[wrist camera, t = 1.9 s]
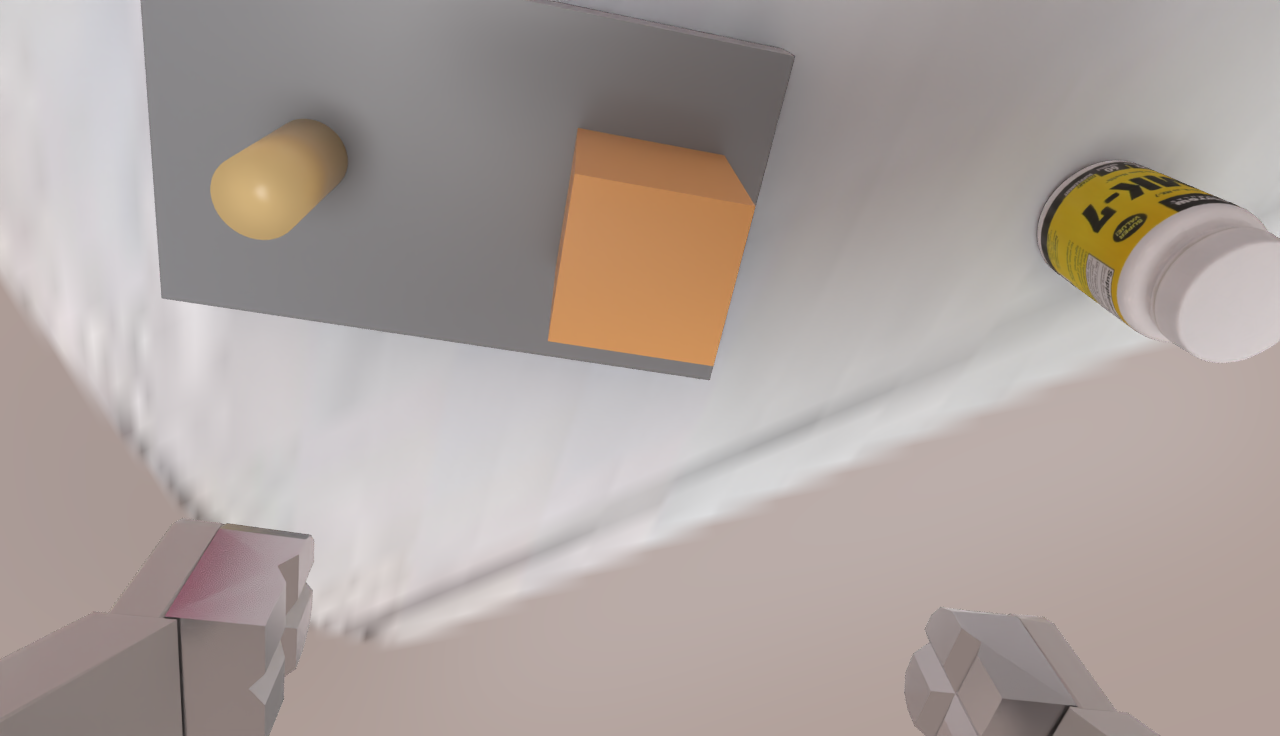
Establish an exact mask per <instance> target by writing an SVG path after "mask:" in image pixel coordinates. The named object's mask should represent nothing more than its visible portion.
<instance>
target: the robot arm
mask: <svg viewBox="0 0 1280 736" xmlns="http://www.w3.org/2000/svg"><path fill="white" fill-rule="evenodd" d="M313 563H314V539H313V537H312V536H311V535H309V534H301V533H294V532H287V531H279V530H272V529H265V528H258V527H250V526H243V525H236V524H228V523H227V524H222V523H216V522H209V521H201V520H194V519H186V518H182V519H180V520H178V521H176V522H175V523H173V524H172V525H171V526H170V527H169V529H168V530H167V531H166V533H165V534H164V536H163V537H162V538H161V540H160V541H159V543H158V544H157V545H156V547H155V548H154V550H153V551H152V552H151V554H150V555H149V557H148V558H147V559H146V561H145V562H144V563H143V565H142V566H141V568H140V569H139V570H138V572H137V573H136V575H135V576H134V577H133V579H132V580H131V582H130V583H129V584H128V586H127V587H126V589H125V590H124V591H123V593H122V594H121V596H120V597H119V598H118V600H117V601H116V602H115V604H114V605H113V607H112V608H111V609H110V611H109V612H108V613H106V612H92V613H90V614H88V615H86V616H84V617H82V618H80V619H78V620H76V621H74V622H72V623H70V624H68V625H66V626H64V627H62V628H60V629H58V630H56V631H54V632H52V633H50V634H48V635H46V636H44V637H42V638H40V639H39V640H37V641H35V642H33V643H31V644H29V645H27V646H25V647H23V648H21V649H19V650H17V651H15V652H13V653H11V654H9V655H7V656H5V657H3V658H1V659H0V736H269V735H270V732H271V730H272V727H273V725H274V722H275V720H276V717H277V715H278V712H279V710H280V707H281V705H282V702H283V700H284V677H285V676H286V675H288V674H289V673H291V672H292V671H293V670H295V669H296V667H297V664H298V662H299V659H300V656H301V654H302V651H303V648H304V643H305V640H306V636H307V632H308V628H309V624H310V617H311V610H312V596H313V590H312V589H311V588H310V586H309V585H308V584H307V583H306V579H307V577H308V575H309V572H310V570H311V568H312V565H313ZM925 631H926V634H927V636H928V639H929V643H928V644H926V645H925V646H924V647H922V648H921V649H919V650H918V651H916V652H915V653H914V654H913V656H912V658H911V661H910V663H909V666H908V668H907V670H906V675H905V692H904V693H905V698H906V704H907V708H908V711H909V714H910V716H911V719H912V721H913V723H914V726H915V727H917V728H918V729H919V730H920V731H921V732H922V733H923V734H924V735H925V736H1160V735H1159V734H1158V733H1156V732H1155V731H1153V730H1152V729H1150V728H1149V727H1148V726H1146V725H1145V724H1143V723H1142V722H1141V721H1139V720H1138V719H1136V718H1135V717H1133V716H1132V715H1130V714H1129V713H1127V712H1118V711H1117V710H1116V709H1115V708H1114V706H1113V705H1112V703H1111V702H1110V701H1109V699H1108V698H1107V696H1106V695H1105V694H1104V692H1103V691H1102V689H1101V688H1100V687H1099V685H1098V684H1097V682H1096V681H1095V680H1094V678H1093V677H1092V676H1091V674H1090V673H1089V671H1088V670H1087V669H1086V667H1085V666H1084V664H1083V663H1082V662H1081V660H1080V659H1079V657H1078V656H1077V655H1076V653H1075V652H1074V650H1073V649H1072V648H1071V646H1070V645H1069V644H1068V642H1067V641H1066V639H1065V638H1064V637H1063V635H1062V634H1061V632H1060V631H1059V630H1058V628H1057V627H1056V625H1055V624H1054V623H1052V622H1051V621H1049V620H1048V619H1046V618H1045V617H1039V616H1028V615H1017V614H1008V615H1005V614H998V613H988V612H980V611H970V610H961V609H952V608H942V607H940V608H939V609H938V610H936V611H935V612H934V613H933V614H932V615H931V617H930V619H929V621H928V623H927V625H926V627H925Z"/></svg>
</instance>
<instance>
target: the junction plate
mask: <svg viewBox="0 0 1280 736" xmlns="http://www.w3.org/2000/svg"><path fill="white" fill-rule="evenodd" d="M141 13H142V27H143V41H144V55H145V69H146V83H147V98H148V112H149V126H150V140H151V154H152V168H153V182H154V197H155V211H156V225H157V239H158V253H159V267H160V281H161V296H162V298H163V299H170V300H176V301H183V302H190V303H197V304H203V305H210V306H217V307H223V308H230V309H237V310H243V311H250V312H257V313H263V314H270V315H277V316H283V317H290V318H297V319H304V320H310V321H317V322H324V323H330V324H337V325H344V326H350V327H357V328H364V329H370V330H377V331H384V332H390V333H397V334H404V335H411V336H417V337H424V338H431V339H437V340H444V341H451V342H457V343H464V344H471V345H477V346H484V347H491V348H498V349H504V350H511V351H518V352H524V353H531V354H538V355H544V356H551V357H558V358H564V359H571V360H578V361H584V362H591V363H598V364H605V365H611V366H618V367H625V368H631V369H638V370H645V371H651V372H658V373H665V374H671V375H678V376H685V377H691V378H698V379H705V380H710V377H711V373H712V369H713V366H708V365H701V364H695V363H688V362H682V361H675V360H669V359H662V358H655V357H649V356H642V355H636V354H629V353H622V352H616V351H609V350H603V349H596V348H590V347H583V346H576V345H570V344H563V343H557V342H550V341H548V334H549V325H550V316H551V306H552V297H553V288H554V278H555V269H556V263H557V256H558V250H559V244H560V237H561V231H562V225H563V218H564V212H565V206H566V199H567V193H568V187H569V180H570V174H571V168H572V161H573V155H574V149H575V142H576V136H577V130H578V128H581V129H587V130H592V131H597V132H603V133H608V134H613V135H619V136H624V137H629V138H635V139H640V140H645V141H651V142H656V143H661V144H667V145H672V146H677V147H683V148H688V149H693V150H699V151H704V152H709V153H715V154H720V155H724V156H725V157H726V159H727V161H728V162H729V164H730V166H731V167H732V169H733V170H734V172H735V174H736V175H737V177H738V179H739V180H740V182H741V183H742V185H743V187H744V188H745V190H746V192H747V193H748V195H749V197H750V198H751V200H752V201H753V203H754V205H755V206H756V202H757V198H758V195H759V191H760V187H761V183H762V179H763V176H764V172H765V168H766V164H767V161H768V157H769V153H770V149H771V145H772V142H773V138H774V134H775V130H776V126H777V123H778V119H779V115H780V111H781V107H782V104H783V100H784V96H785V92H786V89H787V85H788V81H789V77H790V73H791V70H792V66H793V62H794V58H795V56H794V55H792V54H790V53H789V52H787V51H785V50H784V49H781V48H776V47H771V46H766V45H762V44H757V43H752V42H747V41H742V40H738V39H733V38H728V37H723V36H718V35H714V34H709V33H704V32H699V31H694V30H689V29H685V28H680V27H675V26H670V25H665V24H661V23H656V22H651V21H646V20H641V19H636V18H632V17H627V16H622V15H617V14H612V13H608V12H603V11H598V10H593V9H588V8H583V7H579V6H574V5H569V4H564V3H559V2H555V1H550V0H141Z"/></svg>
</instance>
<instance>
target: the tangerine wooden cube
mask: <svg viewBox="0 0 1280 736" xmlns="http://www.w3.org/2000/svg"><path fill="white" fill-rule="evenodd" d="M754 210H755V205H754V203H753V201H752V200H751V198H750V197H749V195H748V193H747V192H746V190H745V188H744V187H743V185H742V183H741V182H740V180H739V179H738V177H737V175H736V174H735V172H734V170H733V169H732V167H731V166H730V164H729V162H728V161H727V159H726V157H725V156H724V155H720V154H715V153H709V152H704V151H699V150H693V149H688V148H683V147H677V146H672V145H667V144H661V143H656V142H651V141H645V140H640V139H635V138H629V137H624V136H619V135H613V134H608V133H603V132H597V131H592V130H587V129H581V128H578V130H577V136H576V142H575V149H574V155H573V161H572V168H571V174H570V180H569V187H568V193H567V199H566V206H565V212H564V218H563V225H562V231H561V237H560V244H559V250H558V256H557V263H556V269H555V278H554V288H553V297H552V306H551V316H550V325H549V334H548V341H550V342H557V343H563V344H570V345H576V346H583V347H590V348H596V349H603V350H609V351H616V352H622V353H629V354H636V355H642V356H649V357H655V358H662V359H669V360H675V361H682V362H688V363H695V364H701V365H708V366H713V365H714V362H715V358H716V354H717V350H718V346H719V343H720V339H721V335H722V331H723V327H724V324H725V320H726V316H727V312H728V309H729V305H730V301H731V297H732V293H733V290H734V286H735V282H736V278H737V274H738V271H739V267H740V263H741V259H742V255H743V252H744V248H745V244H746V240H747V237H748V233H749V229H750V225H751V221H752V218H753V214H754Z"/></svg>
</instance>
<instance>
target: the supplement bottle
mask: <svg viewBox="0 0 1280 736" xmlns="http://www.w3.org/2000/svg"><path fill="white" fill-rule="evenodd" d="M1037 237H1038V245H1039V249H1040V252H1041V254H1042V256H1043V258H1044V260H1045V261H1046V263H1047V264H1048V265H1049V266H1050V267H1051V268H1052V269H1053V270H1054V271H1055V272H1057V273H1058V274H1059V275H1061V276H1062V277H1063V278H1065V279H1066V280H1067V281H1068V282H1070V283H1071V284H1072V285H1074V286H1075V287H1077V288H1078V289H1079V290H1081V291H1082V292H1084V293H1085V294H1086V295H1088V296H1089V297H1090V298H1092V299H1093V300H1094V301H1096V302H1097V303H1098V304H1100V305H1101V306H1102V307H1104V308H1105V309H1107V310H1108V311H1109V312H1111V313H1112V314H1113V315H1115V316H1116V317H1117V318H1119V319H1120V320H1121V321H1123V322H1124V323H1126V324H1127V325H1128V326H1130V327H1131V328H1132V329H1134V330H1135V331H1137V332H1138V333H1140V334H1142V335H1144V336H1146V337H1148V338H1151V339H1154V340H1158V341H1163V342H1172V343H1173V344H1175V345H1177V346H1179V347H1180V348H1182V349H1183V350H1185V351H1187V352H1188V353H1190V354H1191V355H1193V356H1195V357H1197V358H1199V359H1201V360H1204V361H1209V362H1214V363H1229V362H1235V361H1241V360H1244V359H1248V358H1250V357H1252V356H1255V355H1257V354H1260V353H1262V352H1263V351H1265V350H1267V349H1268V348H1270V347H1272V346H1273V345H1275V344H1276V343H1277V342H1279V341H1280V238H1278V237H1276V236H1274V235H1273V234H1272V233H1270V232H1268V230H1267V229H1266V227H1265V226H1264V224H1263V223H1262V222H1261V221H1260V220H1259V219H1258V218H1257V217H1256V216H1255V215H1253V214H1252V213H1250V212H1249V211H1247V210H1246V209H1244V208H1241V207H1239V206H1237V205H1235V204H1233V203H1231V202H1227V201H1225V200H1223V199H1220V198H1218V197H1215V196H1213V195H1211V194H1208V193H1206V192H1203V191H1201V190H1199V189H1197V188H1194V187H1192V186H1189V185H1187V184H1184V183H1182V182H1180V181H1178V180H1175V179H1173V178H1170V177H1168V176H1166V175H1163V174H1161V173H1158V172H1156V171H1154V170H1151V169H1149V168H1147V167H1144V166H1142V165H1139V164H1136V163H1133V162H1128V161H1121V160H1111V161H1104V162H1100V163H1096V164H1093V165H1091V166H1088V167H1086V168H1084V169H1082V170H1080V171H1078V172H1077V173H1075V174H1074V175H1072V176H1071V177H1070V178H1068V179H1067V180H1066V181H1064V182H1063V183H1062V184H1061V185H1060V186H1059V187H1058V188H1057V189H1056V190H1055V191H1054V192H1053V194H1052V195H1051V196H1050V198H1049V199H1048V201H1047V203H1046V204H1045V206H1044V208H1043V211H1042V213H1041V216H1040V219H1039V224H1038V231H1037Z"/></svg>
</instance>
